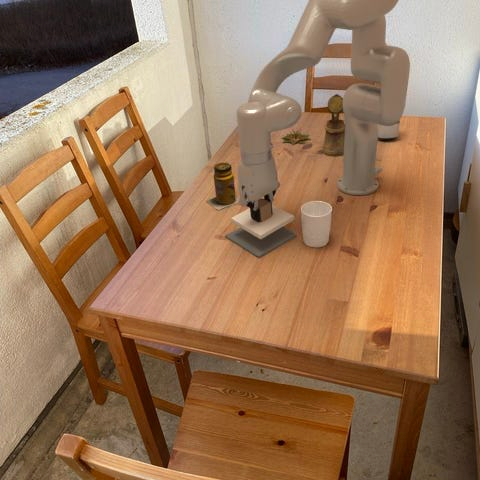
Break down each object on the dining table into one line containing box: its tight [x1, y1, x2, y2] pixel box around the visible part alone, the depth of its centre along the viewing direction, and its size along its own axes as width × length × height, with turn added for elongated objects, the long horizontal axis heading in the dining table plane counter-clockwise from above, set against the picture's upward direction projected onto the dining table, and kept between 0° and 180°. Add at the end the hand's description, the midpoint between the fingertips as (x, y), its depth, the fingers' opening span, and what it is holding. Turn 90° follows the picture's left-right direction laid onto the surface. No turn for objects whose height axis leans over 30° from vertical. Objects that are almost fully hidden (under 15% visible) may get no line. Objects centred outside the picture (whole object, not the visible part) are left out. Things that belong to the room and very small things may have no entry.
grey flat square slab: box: [224, 226, 298, 259], centre depth 129 cm, size 14×14×1 cm
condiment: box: [205, 162, 240, 211], centre depth 144 cm, size 7×8×12 cm
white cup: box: [300, 200, 333, 248], centre depth 123 cm, size 8×8×10 cm
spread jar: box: [377, 119, 401, 142], centre depth 175 cm, size 12×11×12 cm
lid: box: [230, 197, 295, 239], centre depth 125 cm, size 12×12×6 cm
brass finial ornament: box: [321, 93, 345, 157], centre depth 168 cm, size 9×14×18 cm, turn 170°
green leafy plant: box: [281, 128, 310, 146], centre depth 182 cm, size 12×12×5 cm
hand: (261, 216), depth 126 cm, fingers closed on lid, 3 cm apart
